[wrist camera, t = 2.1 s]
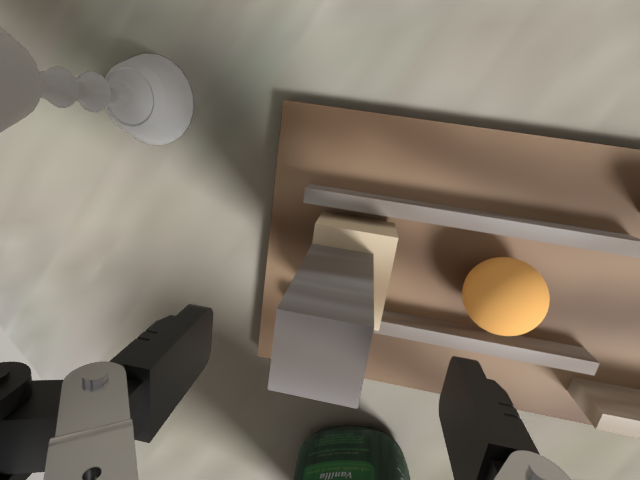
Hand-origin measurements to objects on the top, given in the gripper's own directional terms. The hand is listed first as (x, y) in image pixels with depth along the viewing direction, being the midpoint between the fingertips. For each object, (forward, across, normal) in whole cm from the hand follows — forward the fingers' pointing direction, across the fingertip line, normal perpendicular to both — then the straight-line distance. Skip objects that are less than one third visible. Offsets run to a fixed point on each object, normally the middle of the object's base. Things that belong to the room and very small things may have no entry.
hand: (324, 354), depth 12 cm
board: (+11, -9, 0) cm, 14 cm away
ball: (+8, -8, 0) cm, 11 cm away
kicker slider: (+9, 0, 0) cm, 9 cm away
